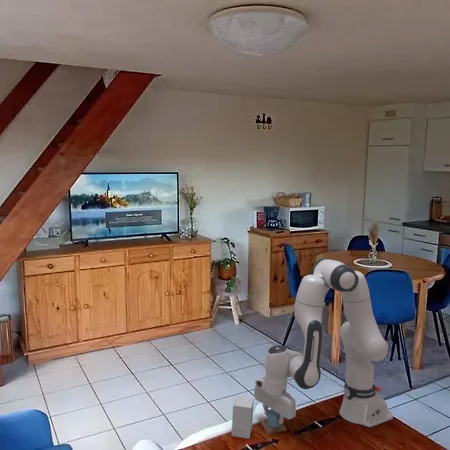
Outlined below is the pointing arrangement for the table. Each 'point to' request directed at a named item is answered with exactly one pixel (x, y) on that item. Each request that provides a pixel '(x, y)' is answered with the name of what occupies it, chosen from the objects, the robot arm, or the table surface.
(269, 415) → the teal cap
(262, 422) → the post base
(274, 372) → the robot arm
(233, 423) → the supplement box
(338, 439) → the table surface
